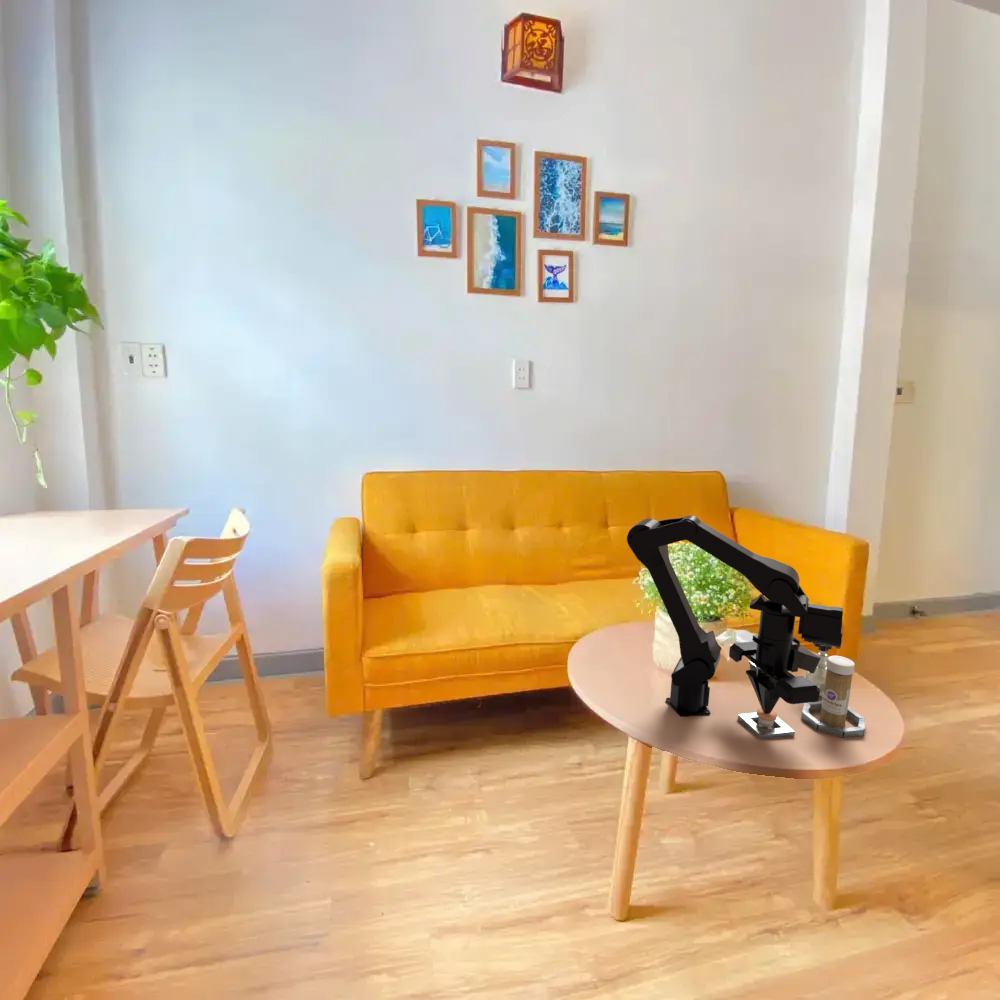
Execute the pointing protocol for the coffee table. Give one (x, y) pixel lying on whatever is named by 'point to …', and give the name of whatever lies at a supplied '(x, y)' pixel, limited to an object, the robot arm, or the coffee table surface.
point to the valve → (820, 667)
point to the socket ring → (832, 729)
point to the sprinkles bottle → (836, 691)
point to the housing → (777, 732)
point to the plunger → (766, 718)
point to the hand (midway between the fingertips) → (766, 712)
